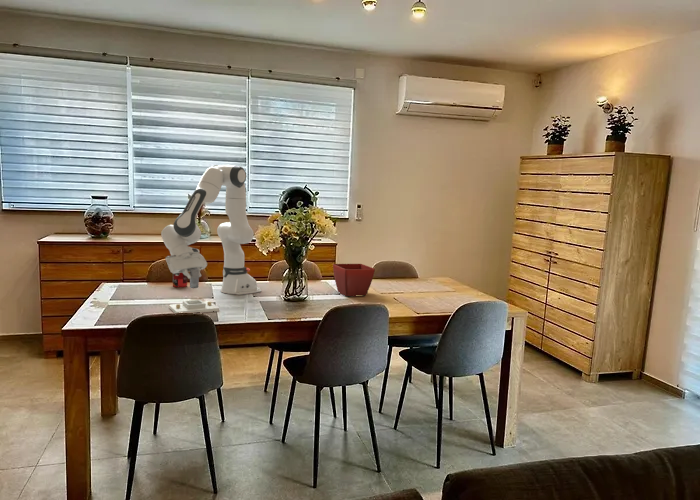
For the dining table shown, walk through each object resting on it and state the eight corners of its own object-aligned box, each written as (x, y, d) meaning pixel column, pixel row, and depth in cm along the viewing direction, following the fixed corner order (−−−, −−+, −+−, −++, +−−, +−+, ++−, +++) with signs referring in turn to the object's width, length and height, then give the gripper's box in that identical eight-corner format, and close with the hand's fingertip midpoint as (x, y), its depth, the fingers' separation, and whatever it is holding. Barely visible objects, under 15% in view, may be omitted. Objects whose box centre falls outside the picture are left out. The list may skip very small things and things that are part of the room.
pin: (197, 286, 239) (197, 268, 237) (199, 287, 235) (200, 269, 234) (188, 286, 236) (189, 268, 235) (191, 288, 233) (191, 269, 232)
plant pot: (359, 290, 303) (360, 263, 300) (373, 297, 286) (375, 268, 283) (330, 291, 294) (332, 263, 292) (344, 298, 277) (345, 269, 275)
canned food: (171, 285, 285) (171, 266, 284) (185, 284, 289) (185, 266, 288) (174, 288, 279) (174, 268, 277) (188, 287, 283) (188, 268, 281)
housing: (209, 304, 249) (210, 297, 248) (219, 310, 237) (219, 303, 237) (169, 307, 238) (169, 300, 237) (176, 315, 226) (176, 307, 226)
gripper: (167, 252, 228) (180, 276, 225) (201, 248, 246) (214, 270, 242) (160, 260, 231) (174, 284, 227) (194, 256, 249) (207, 278, 245)
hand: (195, 277), depth 235 cm, fingers closed on pin, 4 cm apart
